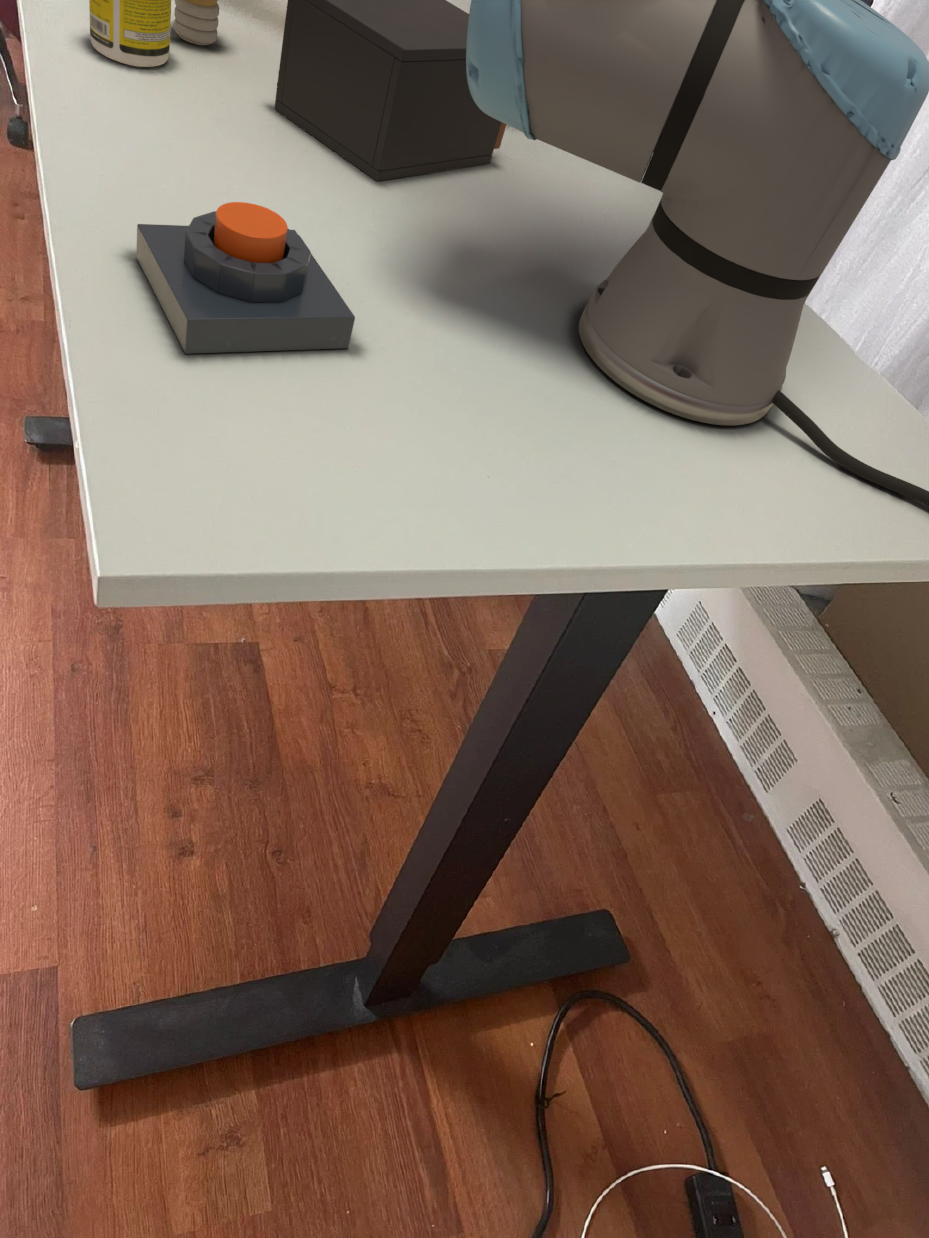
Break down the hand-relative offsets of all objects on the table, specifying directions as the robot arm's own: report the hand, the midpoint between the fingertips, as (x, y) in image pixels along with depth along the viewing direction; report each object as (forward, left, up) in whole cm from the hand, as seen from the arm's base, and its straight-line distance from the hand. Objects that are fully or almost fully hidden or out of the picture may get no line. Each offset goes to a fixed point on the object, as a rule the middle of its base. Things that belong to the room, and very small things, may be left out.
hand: (518, 29), depth 83 cm
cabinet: (-6, +14, -8) cm, 17 cm away
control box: (-31, +36, -8) cm, 48 cm away
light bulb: (+11, +26, -9) cm, 29 cm away
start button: (-31, +36, -5) cm, 48 cm away
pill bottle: (+6, +33, -9) cm, 35 cm away
